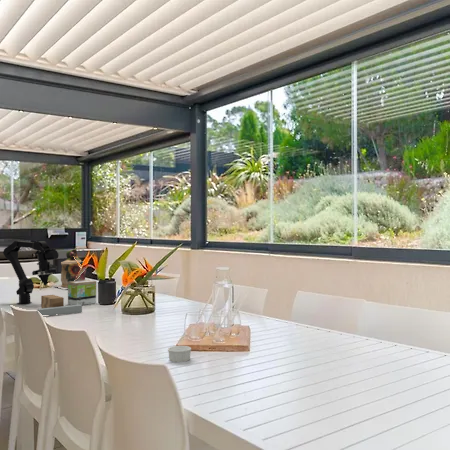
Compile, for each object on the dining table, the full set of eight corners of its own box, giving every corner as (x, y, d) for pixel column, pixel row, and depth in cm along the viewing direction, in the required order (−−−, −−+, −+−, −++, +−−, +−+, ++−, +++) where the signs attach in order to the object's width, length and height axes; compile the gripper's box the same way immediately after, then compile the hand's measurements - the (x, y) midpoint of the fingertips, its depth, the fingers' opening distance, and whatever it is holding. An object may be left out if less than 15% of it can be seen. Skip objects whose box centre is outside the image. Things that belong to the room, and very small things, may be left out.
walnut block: (41, 310, 286) (41, 295, 286) (52, 309, 291) (52, 294, 291) (51, 314, 274) (51, 298, 274) (63, 313, 279) (63, 297, 279)
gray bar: (39, 318, 265) (39, 309, 265) (37, 316, 269) (37, 308, 269) (81, 313, 280) (81, 305, 280) (79, 312, 283) (79, 304, 283)
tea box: (76, 306, 301) (76, 282, 301) (67, 304, 307) (67, 281, 307) (96, 303, 313) (96, 280, 313) (87, 301, 319) (86, 279, 319)
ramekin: (163, 360, 183) (163, 348, 183) (179, 355, 190) (179, 344, 190) (180, 364, 177) (180, 352, 177) (196, 359, 184) (196, 347, 184)
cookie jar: (52, 287, 392) (52, 248, 392) (80, 284, 409) (80, 247, 409) (65, 290, 374) (65, 249, 374) (94, 287, 391) (94, 248, 390)
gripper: (62, 258, 308) (65, 282, 307) (46, 260, 319) (48, 284, 318) (46, 260, 299) (49, 285, 298) (30, 262, 310) (33, 286, 309)
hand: (45, 285), depth 306 cm, fingers closed
